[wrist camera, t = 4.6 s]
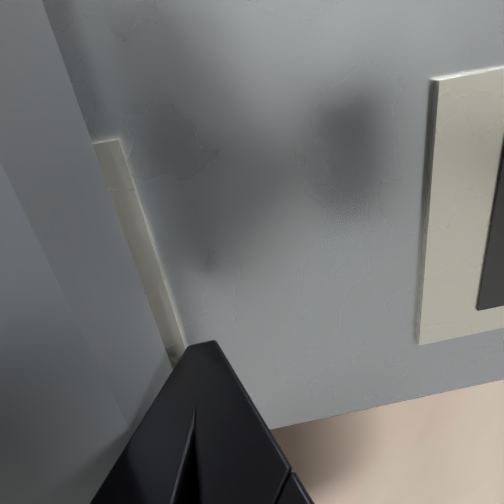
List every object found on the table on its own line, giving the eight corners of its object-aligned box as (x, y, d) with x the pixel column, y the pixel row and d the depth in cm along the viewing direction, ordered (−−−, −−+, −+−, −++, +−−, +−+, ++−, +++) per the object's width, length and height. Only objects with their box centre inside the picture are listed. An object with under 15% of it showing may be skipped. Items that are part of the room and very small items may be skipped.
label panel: (-364, 74, 7) (-522, 79, 6) (798, -123, 8) (942, -166, 6) (-37, 456, 13) (-70, 511, 11) (621, 316, 14) (675, 349, 12)
